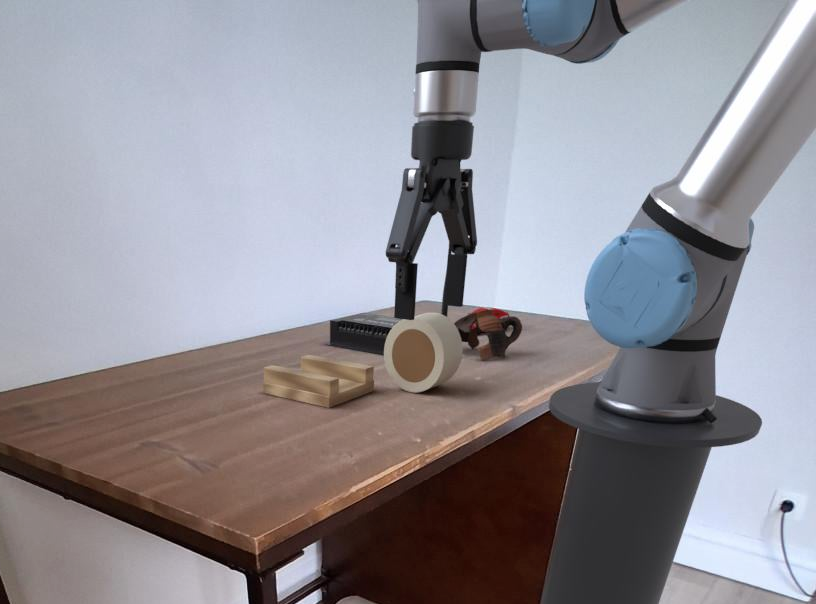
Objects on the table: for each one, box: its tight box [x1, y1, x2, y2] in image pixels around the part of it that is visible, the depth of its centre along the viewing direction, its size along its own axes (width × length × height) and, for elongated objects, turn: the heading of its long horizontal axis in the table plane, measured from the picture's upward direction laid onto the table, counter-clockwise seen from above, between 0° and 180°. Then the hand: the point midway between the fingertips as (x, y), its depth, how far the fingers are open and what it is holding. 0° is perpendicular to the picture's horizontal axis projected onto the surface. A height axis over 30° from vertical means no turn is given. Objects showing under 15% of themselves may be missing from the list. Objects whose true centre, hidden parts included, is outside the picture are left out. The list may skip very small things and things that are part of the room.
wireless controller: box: [325, 242, 453, 356], centre depth 119 cm, size 20×14×17 cm
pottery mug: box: [453, 309, 523, 361], centre depth 117 cm, size 12×10×8 cm
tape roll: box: [383, 311, 463, 393], centre depth 97 cm, size 10×6×10 cm, turn 53°
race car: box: [467, 307, 510, 336], centre depth 135 cm, size 13×5×4 cm, turn 128°
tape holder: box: [262, 354, 375, 409], centre depth 97 cm, size 12×11×4 cm
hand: (429, 312), depth 93 cm, fingers open, 13 cm apart
